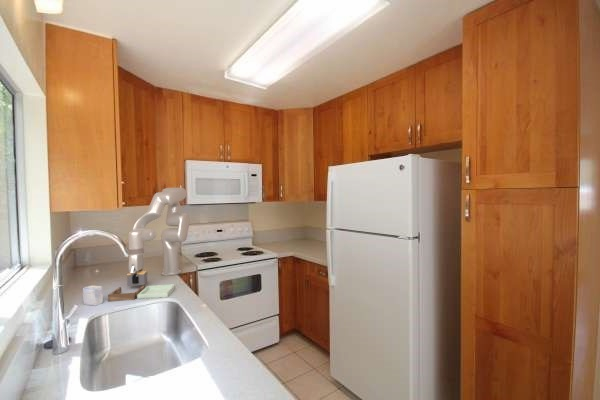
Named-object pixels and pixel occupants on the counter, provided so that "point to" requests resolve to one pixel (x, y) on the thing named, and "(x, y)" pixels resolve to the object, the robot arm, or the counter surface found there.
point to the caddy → (141, 275)
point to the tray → (156, 291)
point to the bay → (123, 295)
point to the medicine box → (92, 295)
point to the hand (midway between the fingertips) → (137, 281)
